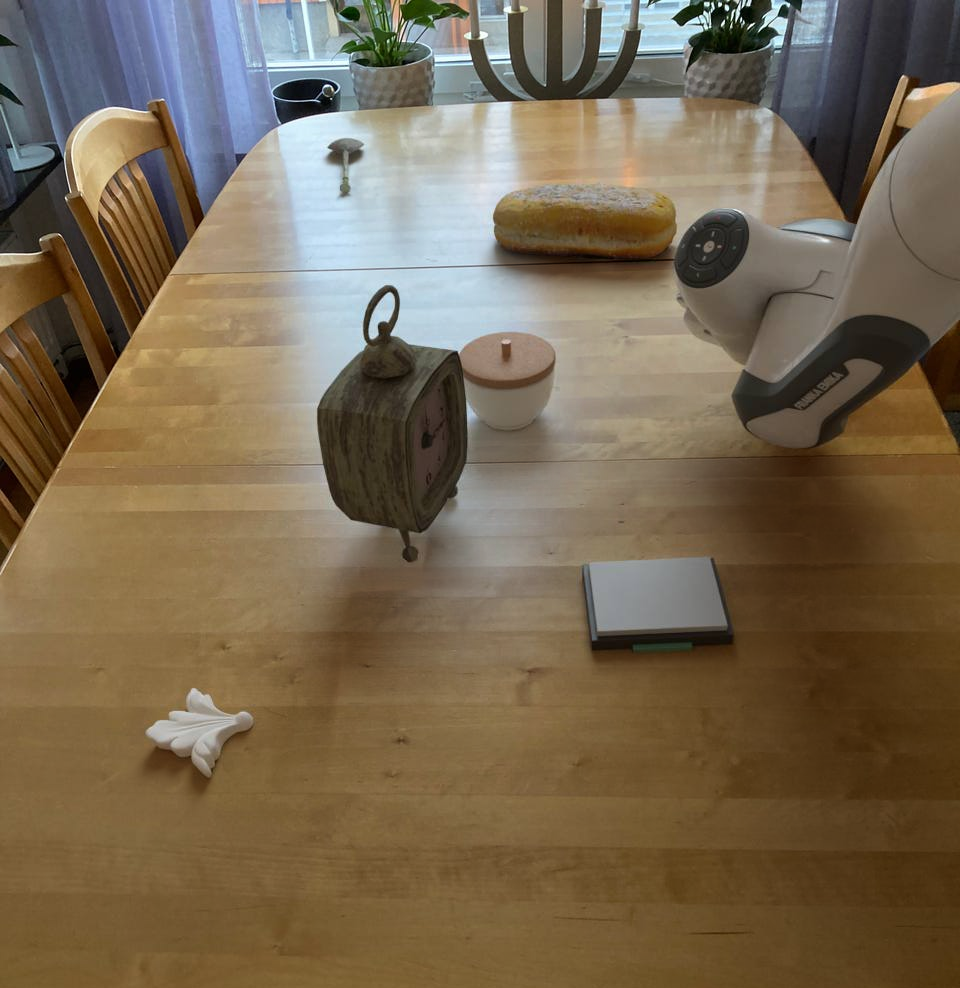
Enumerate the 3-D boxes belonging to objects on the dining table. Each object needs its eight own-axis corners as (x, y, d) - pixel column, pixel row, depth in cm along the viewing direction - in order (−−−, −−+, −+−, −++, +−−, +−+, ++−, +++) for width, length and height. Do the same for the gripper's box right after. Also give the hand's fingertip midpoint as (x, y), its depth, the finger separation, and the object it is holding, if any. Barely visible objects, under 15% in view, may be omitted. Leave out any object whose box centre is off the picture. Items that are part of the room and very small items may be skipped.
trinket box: (506, 453, 110) (502, 378, 103) (443, 416, 116) (436, 342, 109) (575, 415, 115) (576, 340, 108) (512, 381, 121) (509, 308, 114)
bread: (669, 271, 139) (674, 213, 133) (484, 261, 144) (481, 205, 139) (678, 230, 148) (683, 175, 142) (504, 222, 153) (502, 169, 148)
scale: (710, 582, 94) (714, 552, 91) (730, 663, 86) (736, 633, 84) (581, 588, 94) (582, 558, 91) (591, 669, 87) (592, 640, 84)
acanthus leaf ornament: (209, 781, 80) (203, 766, 79) (141, 756, 83) (134, 741, 81) (261, 714, 85) (256, 700, 84) (195, 692, 87) (189, 678, 86)
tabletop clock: (420, 577, 96) (388, 339, 79) (336, 559, 99) (287, 325, 81) (473, 489, 106) (455, 259, 88) (395, 476, 108) (362, 249, 91)
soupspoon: (366, 149, 181) (330, 153, 181) (363, 129, 179) (326, 134, 179) (365, 191, 165) (325, 196, 165) (361, 169, 163) (321, 175, 163)
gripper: (656, 318, 103) (700, 364, 115) (839, 380, 93) (866, 423, 105) (685, 260, 102) (725, 312, 114) (872, 316, 92) (896, 367, 104)
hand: (794, 366), depth 109 cm, fingers closed on tumbler, 6 cm apart
